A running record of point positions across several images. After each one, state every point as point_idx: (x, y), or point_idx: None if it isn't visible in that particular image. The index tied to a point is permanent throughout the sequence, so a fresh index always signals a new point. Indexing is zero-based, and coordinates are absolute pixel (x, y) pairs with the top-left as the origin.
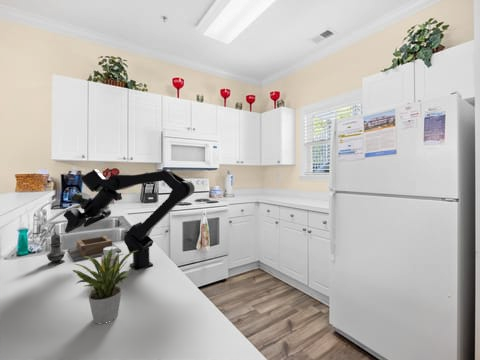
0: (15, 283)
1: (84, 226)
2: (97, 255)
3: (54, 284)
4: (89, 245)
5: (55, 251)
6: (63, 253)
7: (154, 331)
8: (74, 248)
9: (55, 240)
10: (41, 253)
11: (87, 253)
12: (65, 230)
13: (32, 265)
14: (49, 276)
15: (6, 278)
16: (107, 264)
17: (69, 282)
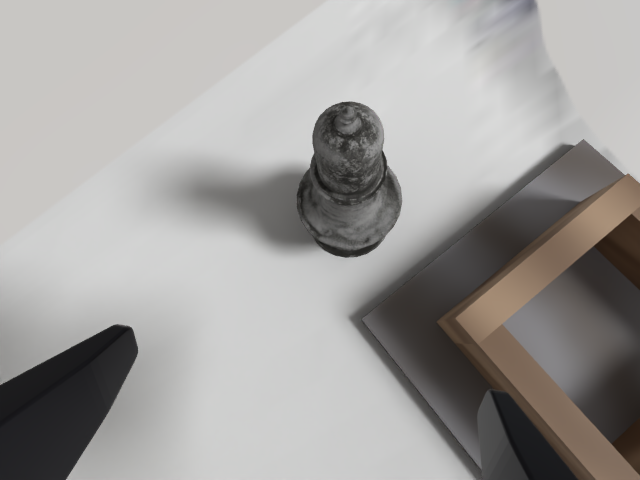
0: (104, 205)
1: (482, 408)
2: (455, 436)
3: None
4: (498, 368)
5: (321, 202)
6: (349, 245)
7: None
8: (594, 176)
9: (320, 166)
10: (509, 31)
11: (465, 352)
12: (97, 342)
13: None
14: (155, 310)
15: (169, 125)
16: None
17: None
